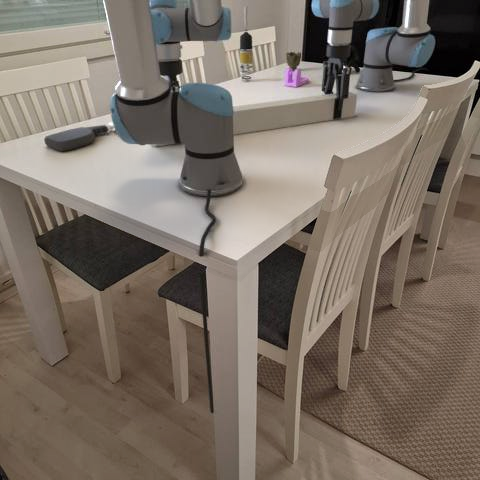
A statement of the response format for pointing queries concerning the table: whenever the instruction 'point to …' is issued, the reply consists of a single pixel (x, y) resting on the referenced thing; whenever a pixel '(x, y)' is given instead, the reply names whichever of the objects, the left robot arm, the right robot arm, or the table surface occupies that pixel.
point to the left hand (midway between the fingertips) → (176, 139)
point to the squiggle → (352, 62)
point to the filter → (246, 48)
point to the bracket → (297, 78)
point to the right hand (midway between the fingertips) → (332, 115)
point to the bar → (288, 113)
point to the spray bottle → (76, 137)
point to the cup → (293, 60)
